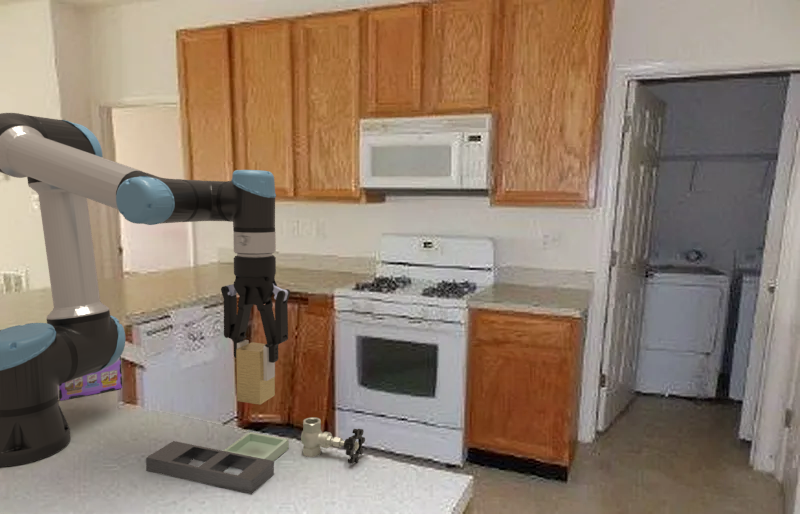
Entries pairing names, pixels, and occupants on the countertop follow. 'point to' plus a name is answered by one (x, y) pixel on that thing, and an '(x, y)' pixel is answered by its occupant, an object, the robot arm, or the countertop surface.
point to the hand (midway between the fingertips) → (256, 376)
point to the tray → (259, 446)
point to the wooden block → (252, 375)
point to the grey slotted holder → (210, 466)
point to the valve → (329, 440)
